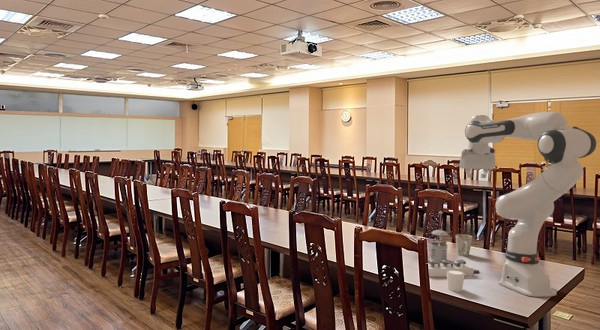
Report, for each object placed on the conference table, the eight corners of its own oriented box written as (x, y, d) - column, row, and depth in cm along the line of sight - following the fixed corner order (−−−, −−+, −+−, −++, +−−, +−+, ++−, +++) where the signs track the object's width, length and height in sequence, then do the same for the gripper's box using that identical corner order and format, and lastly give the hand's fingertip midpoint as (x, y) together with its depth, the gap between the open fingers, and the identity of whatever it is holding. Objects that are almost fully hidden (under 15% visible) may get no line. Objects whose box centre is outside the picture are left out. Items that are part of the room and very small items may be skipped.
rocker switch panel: (483, 275, 198) (484, 264, 198) (427, 276, 194) (427, 265, 193) (473, 270, 206) (474, 259, 206) (419, 271, 202) (420, 260, 201)
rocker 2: (466, 264, 199) (465, 261, 199) (456, 266, 198) (456, 263, 198) (462, 262, 202) (461, 259, 202) (453, 264, 201) (452, 261, 201)
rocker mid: (452, 266, 198) (453, 263, 198) (443, 264, 197) (444, 261, 197) (449, 264, 201) (449, 261, 201) (440, 262, 200) (440, 259, 200)
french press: (428, 261, 218) (430, 211, 217) (428, 255, 229) (430, 208, 228) (448, 263, 215) (451, 213, 214) (448, 257, 226) (450, 209, 225)
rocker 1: (439, 266, 197) (440, 263, 197) (430, 264, 196) (431, 261, 196) (436, 264, 200) (437, 261, 200) (427, 262, 199) (428, 259, 199)
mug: (468, 252, 238) (469, 234, 237) (475, 259, 225) (476, 240, 225) (452, 252, 239) (453, 233, 238) (458, 258, 226) (460, 239, 226)
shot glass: (449, 285, 183) (450, 268, 183) (466, 289, 179) (467, 272, 179) (443, 289, 178) (444, 272, 178) (460, 293, 174) (461, 276, 173)
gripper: (467, 149, 204) (465, 178, 205) (498, 150, 213) (496, 178, 214) (457, 148, 210) (455, 177, 210) (487, 149, 219) (486, 177, 219)
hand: (476, 178), depth 212 cm, fingers open, 8 cm apart
